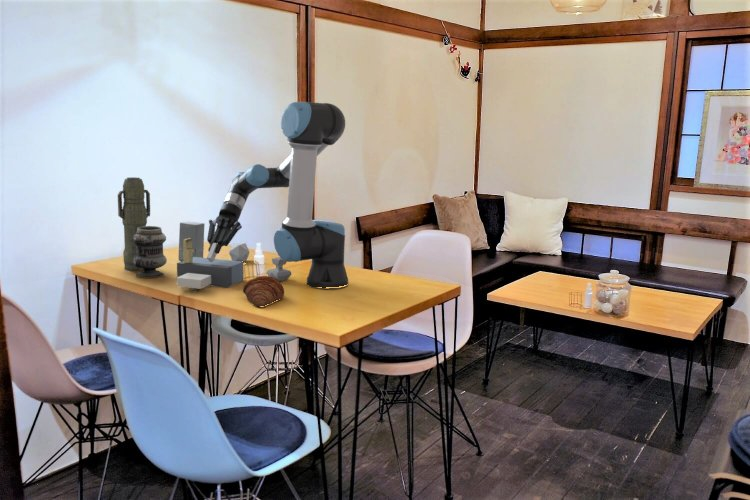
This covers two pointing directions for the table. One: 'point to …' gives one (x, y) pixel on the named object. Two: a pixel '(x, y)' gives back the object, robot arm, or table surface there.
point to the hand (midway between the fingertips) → (209, 259)
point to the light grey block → (194, 281)
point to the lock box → (214, 270)
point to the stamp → (279, 270)
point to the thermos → (132, 216)
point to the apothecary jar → (149, 251)
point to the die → (239, 252)
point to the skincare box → (194, 232)
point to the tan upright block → (187, 250)
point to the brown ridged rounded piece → (263, 290)
